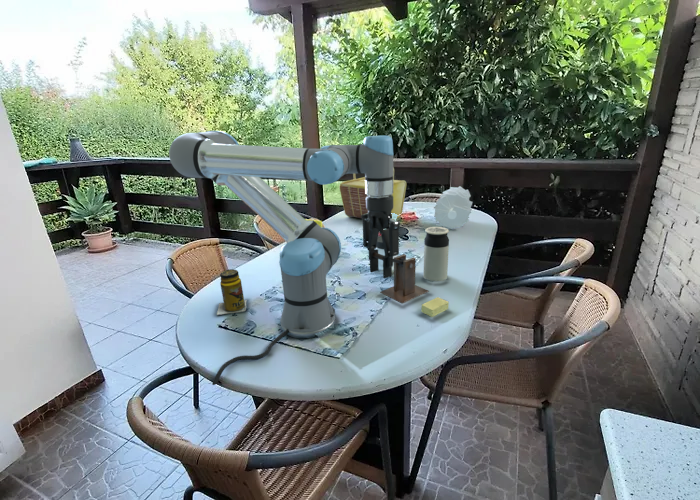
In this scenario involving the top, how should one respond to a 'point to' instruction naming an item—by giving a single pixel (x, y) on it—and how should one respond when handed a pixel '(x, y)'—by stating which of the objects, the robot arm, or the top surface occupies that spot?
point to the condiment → (231, 293)
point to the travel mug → (436, 254)
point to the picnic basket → (356, 195)
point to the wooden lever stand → (404, 282)
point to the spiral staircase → (453, 208)
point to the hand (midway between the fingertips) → (380, 273)
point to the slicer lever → (400, 262)
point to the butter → (434, 306)
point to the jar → (381, 251)
